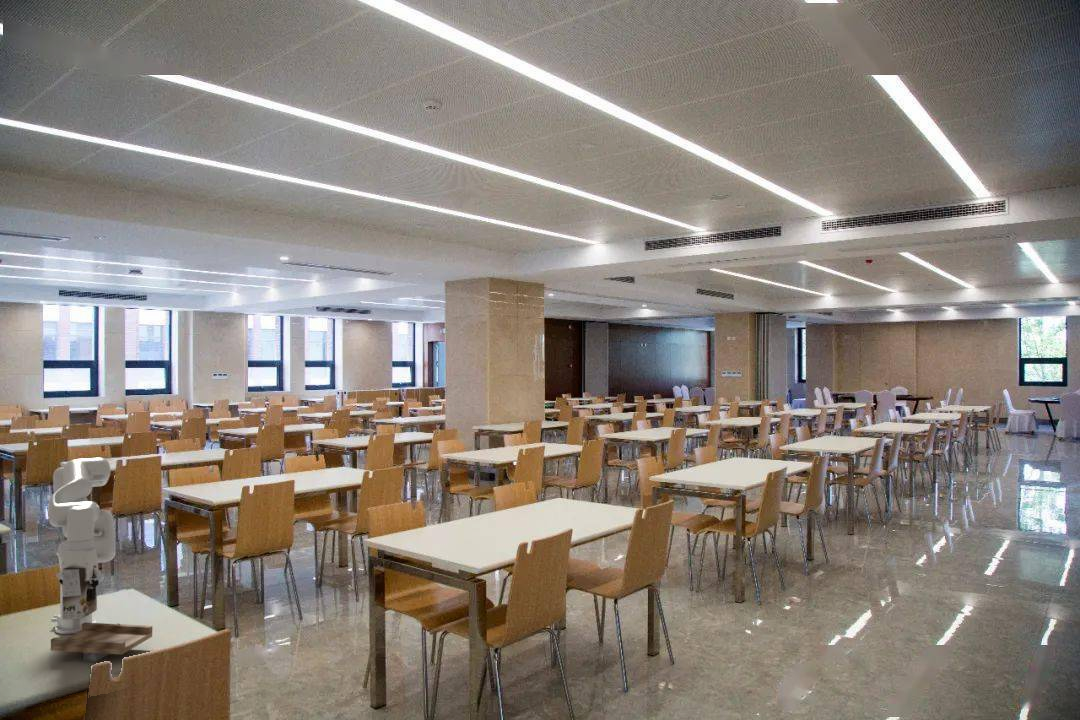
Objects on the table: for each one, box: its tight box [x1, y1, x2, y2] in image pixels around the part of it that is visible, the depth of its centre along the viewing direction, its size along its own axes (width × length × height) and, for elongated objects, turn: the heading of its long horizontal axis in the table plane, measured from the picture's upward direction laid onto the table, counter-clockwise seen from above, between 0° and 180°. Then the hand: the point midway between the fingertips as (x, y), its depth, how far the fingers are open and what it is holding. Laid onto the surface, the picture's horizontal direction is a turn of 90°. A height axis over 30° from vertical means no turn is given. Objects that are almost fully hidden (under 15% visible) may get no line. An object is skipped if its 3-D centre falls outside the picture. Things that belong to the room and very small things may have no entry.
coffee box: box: [62, 567, 98, 620], centre depth 241 cm, size 9×6×16 cm
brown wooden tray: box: [50, 622, 153, 663], centre depth 240 cm, size 24×15×7 cm, turn 84°
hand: (80, 599), depth 241 cm, fingers closed on coffee box, 7 cm apart
